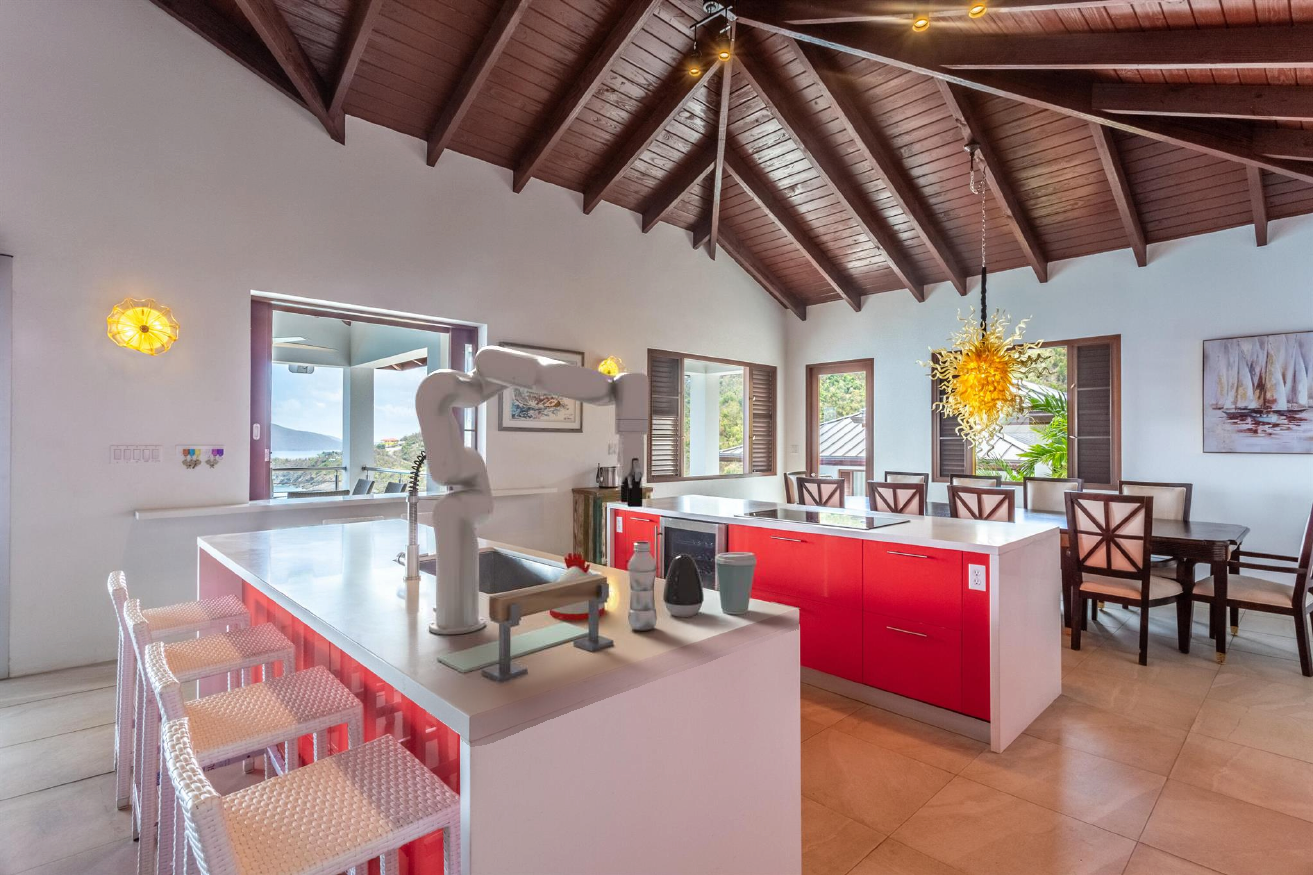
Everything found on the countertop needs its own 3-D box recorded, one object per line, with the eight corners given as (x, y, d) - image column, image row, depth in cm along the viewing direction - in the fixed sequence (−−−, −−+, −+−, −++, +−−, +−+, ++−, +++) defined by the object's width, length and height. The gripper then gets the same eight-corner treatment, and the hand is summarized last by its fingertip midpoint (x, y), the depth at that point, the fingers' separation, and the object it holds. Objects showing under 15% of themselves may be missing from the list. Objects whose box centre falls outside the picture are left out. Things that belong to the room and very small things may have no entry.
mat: (437, 660, 121) (437, 657, 121) (564, 624, 144) (564, 622, 144) (463, 673, 114) (463, 670, 114) (592, 633, 137) (592, 631, 137)
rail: (489, 617, 113) (489, 596, 113) (594, 592, 133) (594, 574, 133) (501, 622, 111) (501, 599, 111) (606, 595, 130) (606, 576, 130)
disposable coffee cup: (705, 611, 155) (705, 552, 156) (730, 603, 163) (730, 547, 164) (740, 619, 148) (740, 558, 148) (764, 610, 156) (764, 552, 156)
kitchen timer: (576, 602, 164) (576, 547, 165) (615, 610, 156) (615, 552, 157) (538, 614, 153) (538, 554, 153) (578, 623, 145) (578, 560, 145)
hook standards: (479, 673, 114) (479, 601, 114) (592, 638, 134) (592, 576, 134) (501, 684, 109) (502, 608, 109) (615, 645, 129) (615, 581, 129)
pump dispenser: (711, 612, 155) (711, 552, 155) (691, 622, 146) (691, 559, 146) (676, 606, 160) (676, 548, 160) (655, 616, 151) (655, 554, 152)
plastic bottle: (653, 634, 137) (653, 545, 137) (624, 632, 138) (624, 544, 138) (659, 626, 143) (659, 540, 143) (631, 624, 144) (631, 539, 145)
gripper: (610, 428, 144) (609, 501, 144) (620, 427, 127) (620, 508, 127) (641, 429, 146) (640, 500, 146) (655, 427, 129) (655, 508, 129)
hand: (631, 504), depth 137 cm, fingers open, 9 cm apart
